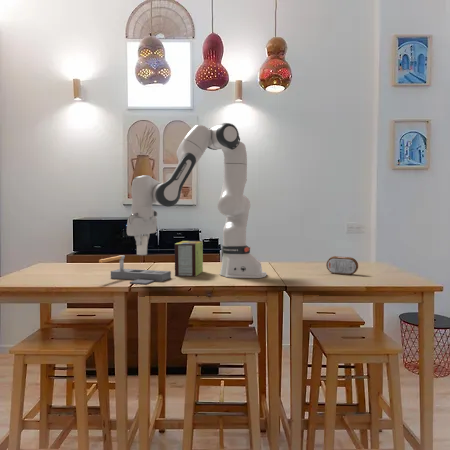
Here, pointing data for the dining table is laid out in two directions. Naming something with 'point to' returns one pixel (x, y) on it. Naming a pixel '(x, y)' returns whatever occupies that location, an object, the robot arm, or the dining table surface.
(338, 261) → the tin
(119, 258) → the clip
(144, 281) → the mat
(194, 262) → the protein box
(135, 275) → the grey base with peg
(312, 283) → the dining table surface
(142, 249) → the plug
